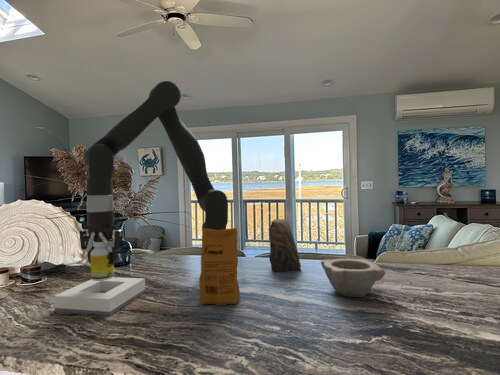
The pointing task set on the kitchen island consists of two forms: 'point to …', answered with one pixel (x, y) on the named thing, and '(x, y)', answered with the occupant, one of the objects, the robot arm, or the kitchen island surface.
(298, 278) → the kitchen island surface
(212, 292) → the coffee package
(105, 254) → the pill bottle
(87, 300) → the socket block
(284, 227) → the brown rock
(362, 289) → the mortar
